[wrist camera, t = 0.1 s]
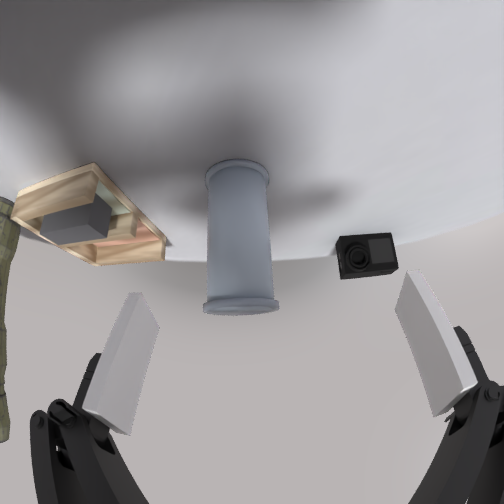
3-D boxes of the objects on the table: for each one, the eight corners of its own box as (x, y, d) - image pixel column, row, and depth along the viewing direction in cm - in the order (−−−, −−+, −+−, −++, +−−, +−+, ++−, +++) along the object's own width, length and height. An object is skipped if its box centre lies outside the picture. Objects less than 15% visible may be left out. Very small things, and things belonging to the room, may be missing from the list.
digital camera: (394, 229, 44) (402, 266, 41) (384, 240, 49) (391, 274, 46) (340, 233, 44) (347, 272, 42) (335, 244, 50) (340, 280, 47)
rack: (18, 191, 24) (10, 218, 23) (94, 162, 23) (84, 195, 22) (97, 245, 44) (94, 266, 42) (166, 236, 42) (164, 260, 41)
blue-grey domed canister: (198, 164, 26) (192, 307, 21) (266, 155, 25) (278, 303, 20) (213, 197, 32) (213, 316, 27) (270, 191, 31) (279, 312, 27)
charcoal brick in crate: (46, 205, 27) (39, 234, 26) (94, 192, 26) (87, 224, 25) (64, 218, 31) (58, 245, 29) (112, 208, 30) (107, 238, 28)
